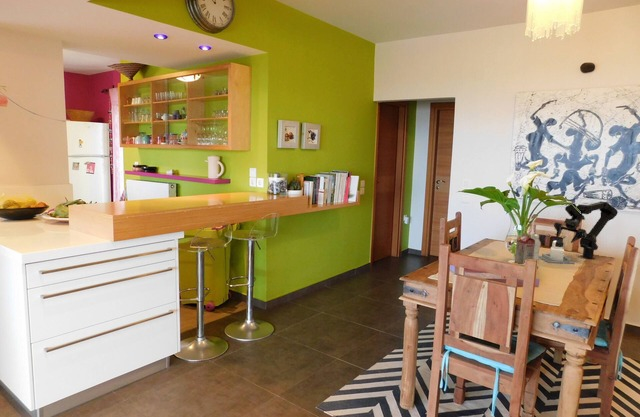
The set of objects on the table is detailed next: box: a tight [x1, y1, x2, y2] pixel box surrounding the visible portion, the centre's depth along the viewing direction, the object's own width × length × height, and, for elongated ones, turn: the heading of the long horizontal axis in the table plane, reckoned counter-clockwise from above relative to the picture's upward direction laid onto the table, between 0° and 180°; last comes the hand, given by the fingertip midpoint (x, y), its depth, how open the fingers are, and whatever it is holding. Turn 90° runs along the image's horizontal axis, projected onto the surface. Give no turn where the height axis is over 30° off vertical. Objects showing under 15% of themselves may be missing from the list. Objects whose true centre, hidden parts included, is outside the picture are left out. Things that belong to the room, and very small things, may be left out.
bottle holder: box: [539, 253, 575, 265], centre depth 272 cm, size 14×16×3 cm
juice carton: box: [514, 232, 535, 264], centre depth 244 cm, size 7×7×22 cm
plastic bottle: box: [531, 233, 542, 266], centre depth 254 cm, size 6×7×20 cm
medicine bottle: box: [549, 240, 565, 261], centre depth 272 cm, size 7×7×12 cm
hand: (563, 240), depth 271 cm, fingers open, 9 cm apart
